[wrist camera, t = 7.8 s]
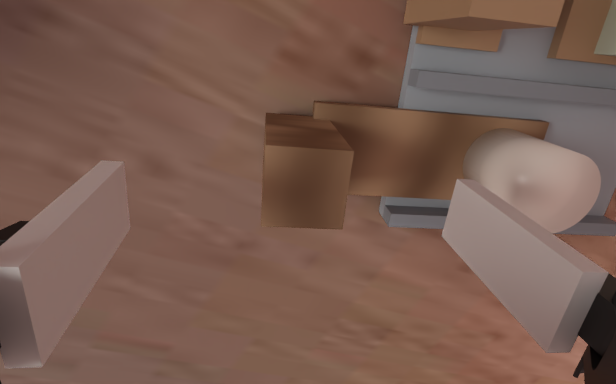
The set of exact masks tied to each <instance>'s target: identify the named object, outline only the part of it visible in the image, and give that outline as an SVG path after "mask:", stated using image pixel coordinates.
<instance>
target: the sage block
mask: <svg viewBox="0 0 616 384" xmlns="http://www.w3.org/2000/svg"><path fill="white" fill-rule="evenodd" d="M594 54H599V55H607V56H616V0H612V3H611V6H610V9H609V12H608V14H607V17H606V20H605V23H604V26H603V28H602V31H601V34H600V37H599V40H598V43H597V45H596V48H595V51H594Z"/></svg>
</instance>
